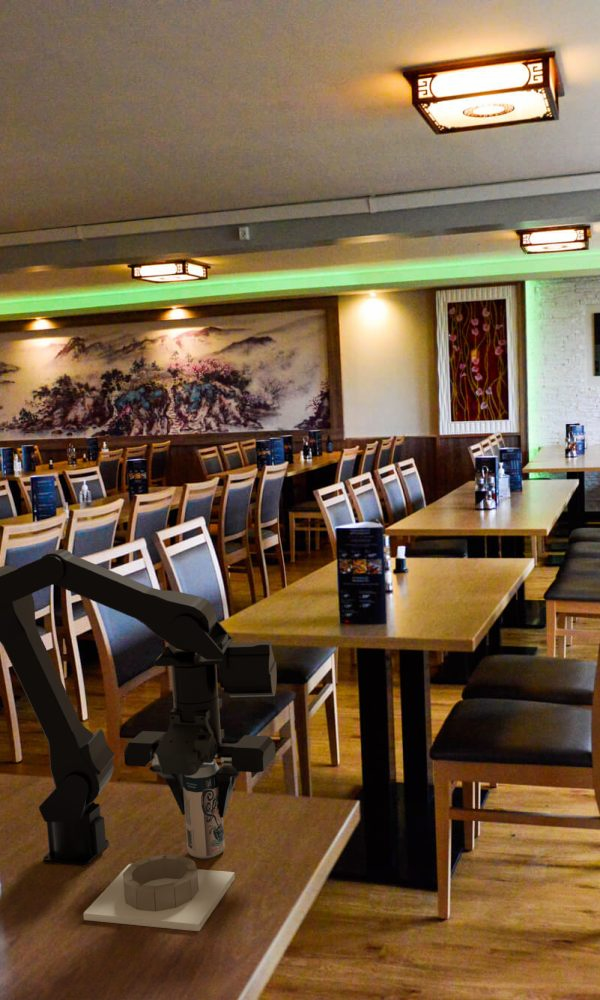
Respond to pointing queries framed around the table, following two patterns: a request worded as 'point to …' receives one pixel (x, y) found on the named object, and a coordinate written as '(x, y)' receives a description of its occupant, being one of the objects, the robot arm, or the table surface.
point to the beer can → (203, 813)
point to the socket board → (167, 917)
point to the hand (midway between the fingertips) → (203, 815)
